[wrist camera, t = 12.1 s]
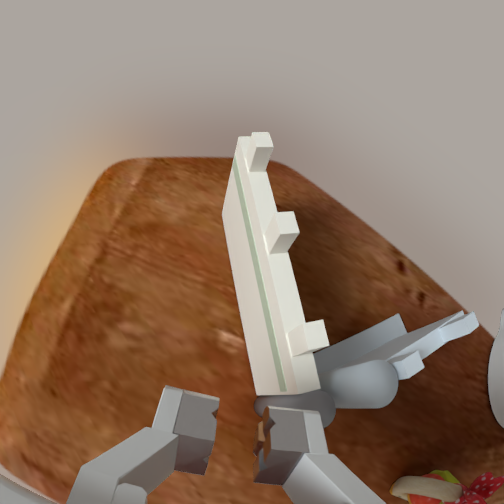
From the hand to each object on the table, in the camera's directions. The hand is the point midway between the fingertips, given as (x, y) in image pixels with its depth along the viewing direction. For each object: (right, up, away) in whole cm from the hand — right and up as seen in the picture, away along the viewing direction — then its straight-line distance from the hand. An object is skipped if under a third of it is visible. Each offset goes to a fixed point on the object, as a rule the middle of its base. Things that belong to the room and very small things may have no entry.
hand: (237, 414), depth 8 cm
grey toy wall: (+9, -5, +18) cm, 20 cm away
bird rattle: (+15, -18, +13) cm, 27 cm away
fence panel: (0, 0, +18) cm, 18 cm away
